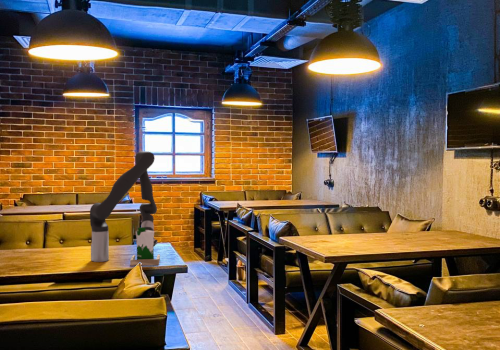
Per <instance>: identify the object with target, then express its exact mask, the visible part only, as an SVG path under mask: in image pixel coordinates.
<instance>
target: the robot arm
mask: <svg viewBox="0 0 500 350" xmlns="http://www.w3.org/2000/svg"><path fill="white" fill-rule="evenodd" d="M134 156H135V157H134V158H135V159H134V160H135V165H134V166H133V167H131V168H130V169H128V170H126V171H125V172H124V173H122V174H121V175H120V176H119V177H118V178H117V180H116V181H114V183H113V185H112V188H111V189H110V192H109V194H108V195H107V197H106V198H105V199H104V200H103V201H102V202H95V203H93V204H92V205H91V206H90V210H89V223H90V224H89V225H90V227H91V244H90V261H92V262H95V263H99V262H108V261H109V257H110V256H109V253H110V251H109V243H110V242H109V225H108V224H107V219H108V218H109V217H110V215H111V214H112V212H113V211H114V209H115V207H116V206H117V205H118V204H119V203H120V202H121V200H122V199H123V198H124V196H126V194H127V193H128V192H129V191H130V189H132V188H133V186H134V185H135V184H136V182H138V180H139V183H140V192H141V193H140V194H141V200H144V201H148V202H149V203H146V202H143V203H141V204H140V205H139V213H140V216H141V225H140V226H141V227H145V230H151V231H154V232H155V224H154V216H153V215H155V214H156V213H157V212H158V207H157V204H156V202H155V199H154V194H153V193H154V192H153V185H152V181H151V179H150V177H149V173H148V169H149V168H150V167H151V166H152V165H153V164H154V162H155V154H154V153H153V152H151V151H146V150H145V151H144V150H143V151H142V150H140V151H138V152H137V153H136V154H135V155H134ZM135 243H136V245H137V239H136V240H135ZM157 244H158V239H156V238H154V247H155V246H156V245H157Z"/></svg>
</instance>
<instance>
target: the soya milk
mask: <svg viewBox="0 0 500 350" xmlns="http://www.w3.org/2000/svg"><path fill="white" fill-rule="evenodd" d="M135 236H136V240H137V244H136V260H142V259H155V256H154V247H155V246H154V239H155V237H154V236H155V230H154V231H151V230H145V227H138V228H137V230H135Z"/></svg>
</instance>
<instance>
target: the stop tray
mask: <svg viewBox="0 0 500 350" xmlns="http://www.w3.org/2000/svg"><path fill="white" fill-rule="evenodd" d="M160 261H161V255H160V254H159V253H158V254H157V256H156V258H154V259H142V260H137V259H136V255H135V254H133V255H132V256H131V257H130V259H129V262H130V263H129V265H130V266H132V267H133V266H134V265H137V264H138V263H139V262H141V263H142V265H141V266H159V265H160ZM137 266H138V265H137Z"/></svg>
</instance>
